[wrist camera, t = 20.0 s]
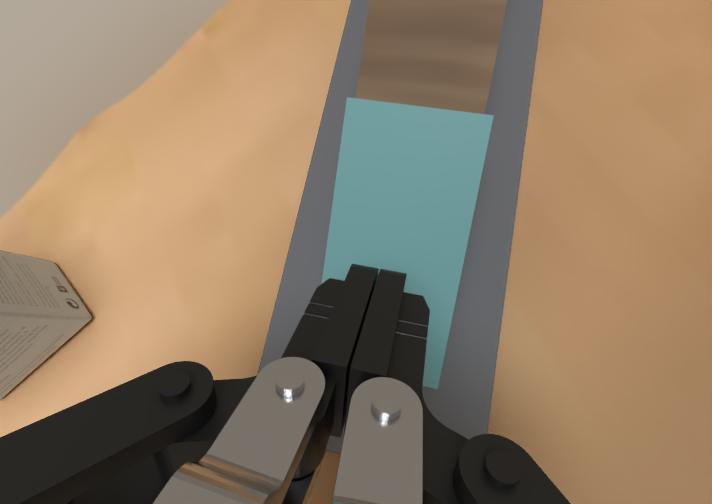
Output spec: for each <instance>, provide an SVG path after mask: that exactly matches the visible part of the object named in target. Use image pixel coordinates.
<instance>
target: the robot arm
mask: <svg viewBox="0 0 712 504" xmlns="http://www.w3.org/2000/svg"><path fill="white" fill-rule="evenodd" d="M378 272H379V274H378ZM406 276H407V273H401V272H396V271H390V270H385V269H380V271H379V269H378V268H374V267H368V266H363V265H358V264H352V265H351V266H350V269H349V271H348V274H347V276H346V278H345V281H343V280H338V279H333V278H329V279H328V280H326V281H325V282H324V283H322V284H321V285H320V286H318V287H317V288H316V290H315V292H314V294H313V296H312V298H311V300H310V303H309V304H308V306H307V308H306V310H305V312H304V315H303V316H302V318H301V320H300V322H299V324H298V325H297V327H296V329H295V331H294V333H293V335H292V337H291V339H290V341H289V343H288V345H287V347H286V349H285V351H284V353H283V355H282V357H281V358H280V359H278V360H275V361H273V362H271V363H269V364H268V365H266V366H265V367H264V368H263V369H262V370H261V371H260V373H259V374H258V375H257V376H254V377H250V378H244V379H230V380H213V376H212V374H211V372H210V371H209V370H208V368H206V367H205V366H203V365H201V364H199V363H196V362H190V361H181V362H175V363H171V364H168V365H165V366H162V367H160V368H158V369H156V370H153V371H151V372H149V373H146V374H144V375H142V376H140V377H137V378H135V379H133V380H130V381H128V382H126V383H124V384H121V385H119V386H117V387H115V388H112V389H110V390H108V391H105V392H103V393H101V394H99V395H96V396H94V397H92V398H89V399H87V400H85V401H83V402H80V403H78V404H76V405H73V406H71V407H69V408H67V409H64V410H62V411H60V412H57V413H55V414H53V415H51V416H48V417H46V418H44V419H41V420H39V421H37V422H35V423H32V424H30V425H28V426H26V427H23V428H21V429H19V430H16V431H14V432H12V433H10V434H7V435H5V436H3V437H0V504H307V502H308V500H309V497H310V494H311V492H312V489H313V487H314V484H315V481H316V479H317V476H318V474H319V471H320V467H321V461H322V459H323V456H324V453H325V450H326V447H327V443H328V440H329V437H330V435H332V436H336V437H340V438H341V434H342V431H343V427H344V423H345V427H344V441H343V446H342V451H341V457H340V462H339V468H338V473H337V479H336V484H335V490H334V495H333V500H332V504H570V503H569V501H568V500H567V499H566V498H565V497H564V495H563V494H562V493H561V492H560V491H559V490H558V488H557V487H556V486H555V485H554V484H553V482H552V481H551V480H550V479H549V478H548V477H547V475H546V474H545V473H544V472H543V471H542V469H541V468H540V467H539V466H538V465H537V464H536V462H535V461H534V460H533V459H532V458H531V456H530V455H529V454H528V453H527V452H526V451H525V450H524V449H523V448H521V447H520V446H519V445H517V444H516V443H514V442H513V441H511V440H509V439H507V438H505V437H502V436H499V435H494V434H481V435H477V436H474V437H472V438H471V439H467V438H465V437H464V436H462V435H460V434H458V433H456V432H455V431H453V430H451V429H449V428H448V427H446V426H445V425H443V424H442V423H441V422H439V421H438V420H437V419H436V418H435V417H434V416H433V415H432V413H431V412H430V411H429V409H428V408H427V406H426V404H425V401H424V398H423V393H422V386H423V375H424V365H425V355H426V345H427V335H428V325H429V314H430V309H429V307H428V305H427V303H426V301H425V299H424V296H422V295H416V294H411V293H406V292H404V287H405V282H406Z"/></svg>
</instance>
